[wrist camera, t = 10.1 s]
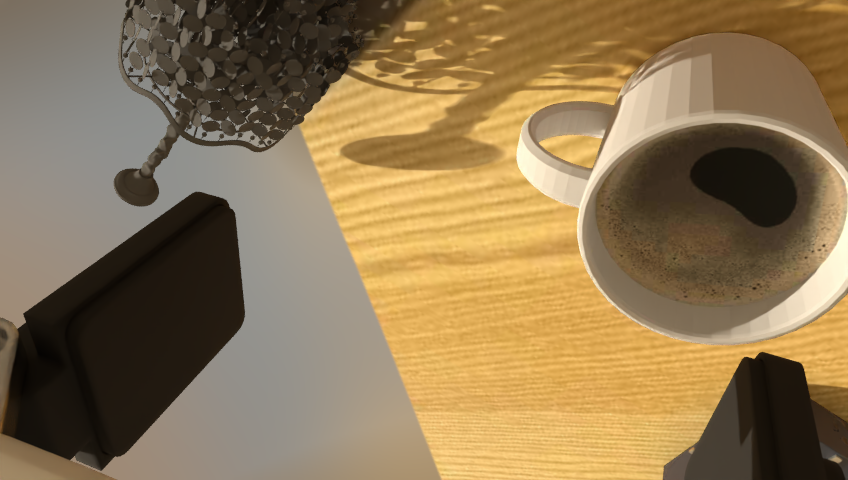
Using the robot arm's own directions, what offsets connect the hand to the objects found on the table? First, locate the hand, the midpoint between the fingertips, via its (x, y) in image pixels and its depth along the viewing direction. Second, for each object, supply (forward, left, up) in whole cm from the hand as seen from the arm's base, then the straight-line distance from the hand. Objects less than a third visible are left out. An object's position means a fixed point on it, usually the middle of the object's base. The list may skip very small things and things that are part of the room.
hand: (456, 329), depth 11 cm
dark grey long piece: (+20, +8, -18) cm, 28 cm away
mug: (-5, +1, -21) cm, 22 cm away
